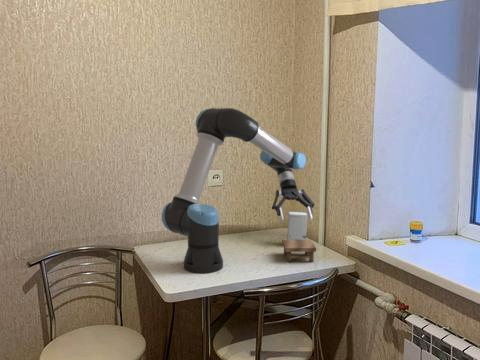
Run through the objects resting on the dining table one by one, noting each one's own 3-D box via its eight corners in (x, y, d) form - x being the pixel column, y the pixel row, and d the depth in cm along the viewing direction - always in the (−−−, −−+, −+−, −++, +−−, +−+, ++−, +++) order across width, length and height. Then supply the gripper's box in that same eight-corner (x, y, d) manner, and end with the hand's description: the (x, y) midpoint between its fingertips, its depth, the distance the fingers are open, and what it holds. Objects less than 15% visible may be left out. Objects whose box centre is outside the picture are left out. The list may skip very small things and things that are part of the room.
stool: (285, 262, 172) (285, 248, 171) (281, 253, 183) (282, 239, 183) (315, 262, 172) (316, 248, 171) (310, 253, 184) (310, 239, 183)
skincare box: (287, 247, 193) (288, 214, 191) (286, 243, 199) (287, 211, 197) (306, 247, 192) (307, 214, 190) (305, 243, 198) (306, 211, 196)
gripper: (309, 186, 215) (320, 223, 203) (260, 188, 210) (268, 226, 198) (314, 177, 209) (325, 214, 197) (263, 178, 204) (272, 217, 192)
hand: (296, 220), depth 197 cm, fingers open, 13 cm apart
